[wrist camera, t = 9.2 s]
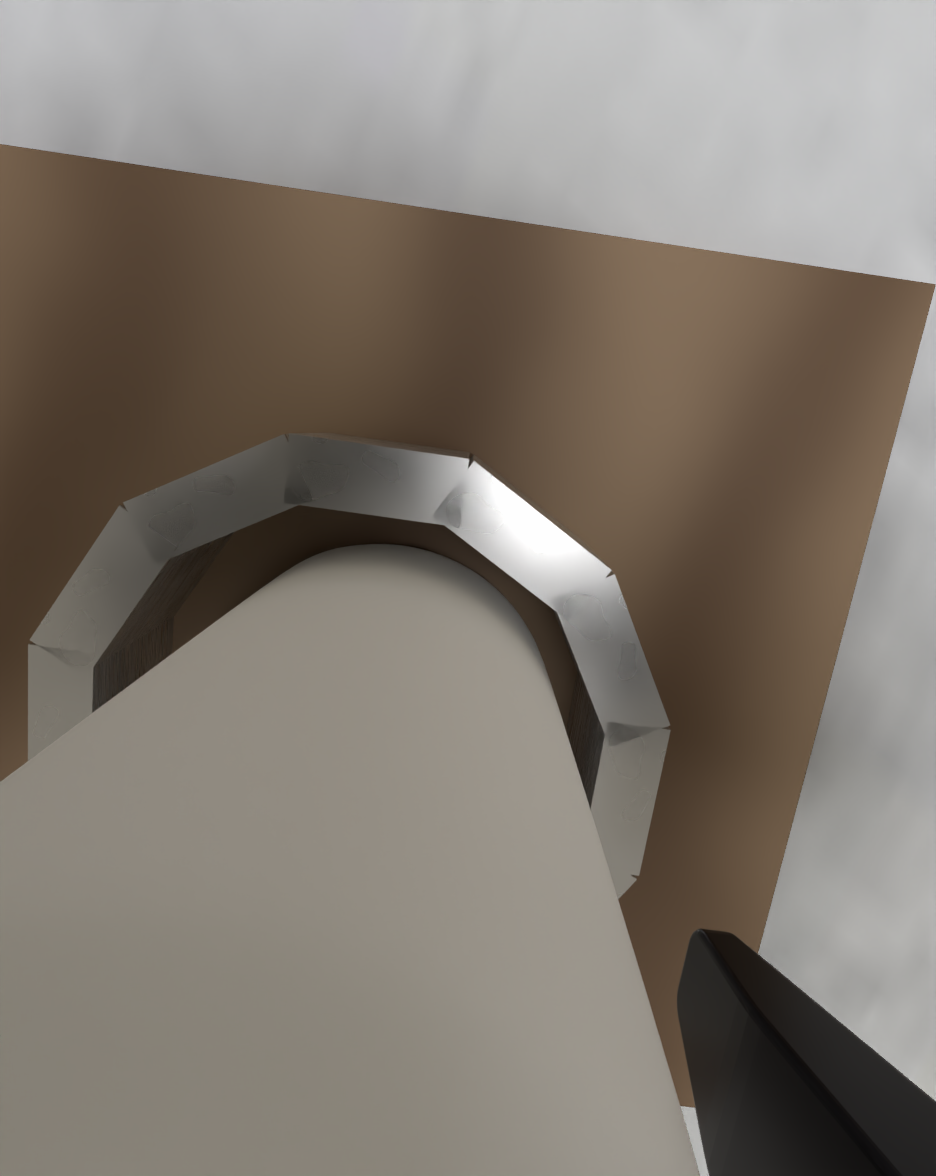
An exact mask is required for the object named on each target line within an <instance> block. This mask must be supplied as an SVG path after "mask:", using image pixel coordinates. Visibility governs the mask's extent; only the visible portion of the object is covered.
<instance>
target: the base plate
mask: <svg viewBox="0 0 936 1176" xmlns="http://www.w3.org/2000/svg"><path fill="white" fill-rule="evenodd" d="M935 285H936V284H929V283H923V282H916V281H909V280H903V279H896V278H889V277H883V276H876V275H869V274H863V273H856V272H849V271H843V270H836V269H829V268H823V267H816V266H809V265H803V264H796V263H789V262H783V261H776V260H769V259H763V258H756V257H749V256H743V255H736V254H729V253H723V252H716V251H709V250H703V249H696V248H689V247H683V246H676V245H669V244H663V243H656V242H649V241H643V240H636V239H629V238H623V237H616V236H609V235H603V234H596V233H589V232H583V231H576V230H569V229H563V228H556V227H549V226H543V225H536V224H529V223H523V222H516V221H509V220H502V219H496V218H489V217H482V216H476V215H469V214H462V213H456V212H449V211H442V210H436V209H429V208H422V207H416V206H409V205H402V204H396V203H389V202H382V201H376V200H369V199H362V198H356V197H349V196H342V195H336V194H329V193H322V192H316V191H309V190H302V189H296V188H289V187H282V186H276V185H269V184H262V183H256V182H249V181H242V180H236V179H229V178H222V177H216V176H209V175H202V174H196V173H189V172H182V171H176V170H169V169H162V168H156V167H149V166H142V165H136V164H129V163H122V162H116V161H109V160H102V159H96V158H89V157H82V156H76V155H69V154H62V153H56V152H49V151H42V150H36V149H29V148H22V147H16V146H9V145H2V144H0V782H1V781H2V780H3V779H5V778H6V777H7V776H9V775H10V774H11V773H13V772H14V771H15V770H17V769H18V768H20V767H21V766H22V765H24V764H25V763H26V762H28V644H30V643H32V641H30V638H31V637H32V635H33V634H34V632H35V631H36V629H37V628H38V626H39V625H40V623H41V622H42V620H43V619H44V617H45V616H46V614H47V613H48V611H49V610H50V608H51V607H52V605H53V604H54V602H55V601H56V599H57V598H58V596H59V595H60V593H61V592H62V590H63V589H64V587H65V586H66V584H67V583H68V581H69V580H70V578H71V577H72V575H73V574H74V572H75V571H76V569H77V568H78V566H79V565H80V563H81V562H82V560H83V559H84V557H85V556H86V555H87V553H88V552H89V550H90V549H91V547H92V546H93V544H94V543H95V541H96V540H97V538H98V537H99V535H100V534H101V532H102V531H103V529H104V528H105V526H106V525H107V523H108V522H109V520H110V519H111V517H112V516H113V514H114V513H115V511H116V510H117V508H118V507H119V506H120V505H124V503H123V502H125V501H128V500H130V499H132V498H135V497H137V496H139V495H142V494H144V493H146V492H149V491H151V490H153V489H156V488H158V487H160V486H163V485H165V484H167V483H170V482H172V481H175V480H177V479H179V478H182V477H184V476H186V475H189V474H191V473H193V472H196V471H198V470H200V469H203V468H205V467H207V466H210V465H212V464H214V463H217V462H219V461H221V460H224V459H226V458H229V457H231V456H233V455H236V454H238V453H240V452H243V451H245V450H247V449H250V448H252V447H254V446H257V445H259V444H261V443H264V442H266V441H268V440H271V439H273V438H276V437H278V436H280V435H283V434H289V433H336V434H343V435H350V436H357V437H364V438H371V439H379V440H386V441H393V442H400V443H407V444H414V445H421V446H428V447H435V448H442V449H449V450H456V451H463V452H470V456H469V460H470V458H471V457H472V456H473V454H474V455H475V456H477V457H478V458H479V459H481V460H482V461H483V462H484V463H486V464H487V465H488V466H489V467H491V468H492V469H493V470H494V471H496V472H497V473H498V474H499V475H501V476H502V477H503V478H504V479H506V480H507V481H508V482H510V483H511V484H512V485H513V486H515V487H516V488H517V489H518V490H520V491H521V492H522V493H523V494H525V495H526V496H527V497H528V498H530V499H531V500H532V501H533V502H535V503H536V504H537V505H538V506H540V507H541V508H542V509H544V510H545V511H546V512H547V513H549V514H550V515H551V516H552V517H554V518H555V519H556V520H557V521H559V522H560V523H561V524H562V525H564V526H565V527H566V528H567V529H569V530H570V531H571V532H572V533H574V534H575V535H576V536H578V537H579V538H580V539H581V540H582V541H583V542H584V543H585V544H586V545H587V546H588V547H589V548H590V549H591V550H592V551H593V552H594V553H595V554H596V555H597V556H598V557H599V558H600V559H601V560H602V561H603V562H604V563H605V564H606V565H607V566H608V567H609V568H610V569H611V570H612V572H613V573H614V574H615V576H616V579H617V582H618V584H619V587H620V590H621V593H622V595H623V598H624V601H625V603H626V606H627V609H628V612H629V614H630V617H631V620H632V622H633V625H634V628H635V631H636V633H637V636H638V639H639V641H640V644H641V647H642V650H643V652H644V655H645V658H646V660H647V663H648V666H649V669H650V671H651V674H652V677H653V680H654V682H655V685H656V688H657V690H658V693H659V696H660V699H661V701H662V704H663V707H664V709H665V712H666V715H667V718H668V720H669V723H670V726H668V727H669V728H670V730H671V731H670V735H669V740H668V745H667V749H666V754H665V758H664V763H663V768H662V772H661V777H660V782H659V786H658V791H657V795H656V800H655V805H654V809H653V814H652V818H651V823H650V828H649V832H648V837H647V841H646V846H645V851H644V855H643V860H642V864H641V869H640V874H639V876H636V875H635V876H636V878H637V880H636V881H635V882H634V883H633V884H632V885H631V887H630V888H629V889H628V890H627V891H626V892H625V893H624V894H623V895H622V896H621V897H620V898H619V899H618V901H619V904H620V907H621V911H622V914H623V917H624V921H625V924H626V927H627V930H628V934H629V937H630V940H631V944H632V947H633V950H634V953H635V957H636V960H637V963H638V966H639V970H640V973H641V976H642V980H643V983H644V986H645V989H646V993H647V996H648V999H649V1003H650V1006H651V1010H652V1013H653V1016H654V1020H655V1023H656V1026H657V1030H658V1033H659V1036H660V1040H661V1043H662V1047H663V1050H664V1053H665V1057H666V1060H667V1063H668V1067H669V1070H670V1073H671V1077H672V1080H673V1084H674V1087H675V1090H676V1094H677V1097H678V1100H679V1104H680V1106H686V1107H694V1108H695V1103H694V1098H693V1093H692V1088H691V1082H690V1077H689V1072H688V1067H687V1061H686V1056H685V1051H684V1045H683V1040H682V1035H681V1030H680V1024H679V1019H678V1013H677V991H678V986H679V982H680V977H681V973H682V969H683V965H684V961H685V956H686V952H687V948H688V944H689V940H690V937H691V935H692V934H693V932H694V931H696V930H697V929H709V930H717V931H725V932H730V933H732V934H734V935H735V936H737V937H738V938H739V939H740V940H742V941H743V942H744V943H745V944H746V945H748V946H749V947H750V948H751V949H752V950H754V951H755V952H756V953H757V954H758V951H759V947H760V943H761V939H762V936H763V932H764V928H765V924H766V921H767V917H768V913H769V909H770V906H771V902H772V898H773V894H774V891H775V887H776V883H777V879H778V876H779V872H780V868H781V864H782V860H783V857H784V853H785V849H786V845H787V842H788V838H789V834H790V830H791V827H792V823H793V819H794V815H795V812H796V808H797V804H798V800H799V797H800V793H801V789H802V785H803V781H804V778H805V774H806V770H807V766H808V763H809V759H810V755H811V751H812V748H813V744H814V740H815V736H816V733H817V729H818V725H819V721H820V718H821V714H822V710H823V706H824V703H825V699H826V695H827V691H828V687H829V684H830V680H831V676H832V672H833V669H834V665H835V661H836V657H837V654H838V650H839V646H840V642H841V639H842V635H843V631H844V627H845V624H846V620H847V616H848V612H849V608H850V605H851V601H852V597H853V593H854V590H855V586H856V582H857V578H858V575H859V571H860V567H861V563H862V560H863V556H864V552H865V548H866V545H867V541H868V537H869V533H870V530H871V526H872V522H873V518H874V514H875V511H876V507H877V503H878V499H879V496H880V492H881V488H882V484H883V481H884V477H885V473H886V469H887V466H888V462H889V458H890V454H891V451H892V447H893V443H894V439H895V435H896V432H897V428H898V424H899V420H900V417H901V413H902V409H903V405H904V402H905V398H906V394H907V390H908V387H909V383H910V379H911V375H912V372H913V368H914V364H915V360H916V357H917V353H918V349H919V345H920V341H921V338H922V334H923V330H924V326H925V323H926V319H927V315H928V311H929V308H930V304H931V300H932V296H933V293H934V289H935ZM365 544H393V545H402V546H409V547H414V548H419V549H423V550H427V551H430V552H433V553H436V554H439V555H442V556H444V557H447V558H449V559H451V560H454V561H456V562H458V563H460V564H462V565H463V566H465V567H467V568H469V569H470V570H472V571H474V572H475V573H477V574H478V575H480V576H481V577H482V578H484V579H485V580H486V581H488V582H489V583H490V584H491V585H492V586H494V587H495V588H496V589H497V590H498V591H499V592H500V593H501V594H502V595H503V596H504V597H505V598H506V599H507V600H508V601H509V602H510V604H511V605H512V606H513V607H514V608H515V610H516V611H517V612H518V614H519V615H520V616H521V618H522V619H523V621H524V622H525V624H526V626H527V627H528V629H529V631H530V633H531V634H532V636H533V638H534V640H535V642H536V644H537V647H538V649H539V652H540V654H541V657H542V659H543V662H544V665H545V668H546V671H547V674H548V677H549V680H550V683H551V686H552V689H553V692H554V695H555V698H556V701H557V704H558V707H559V711H560V714H561V717H562V720H563V723H564V726H565V730H566V731H567V725H568V720H569V714H570V709H571V703H572V698H573V692H574V687H575V681H576V676H577V669H576V667H575V664H574V661H573V659H572V656H571V654H570V651H569V649H568V646H567V644H566V641H565V638H564V636H563V633H562V631H561V628H560V626H559V623H558V621H557V618H556V615H555V613H554V610H553V609H552V608H551V607H550V606H548V605H547V604H546V603H544V602H543V601H542V600H541V599H539V598H538V597H537V596H535V595H534V594H533V593H531V592H530V591H529V590H528V589H526V588H525V587H524V586H522V585H521V584H520V583H519V582H517V581H516V580H515V579H513V578H512V577H511V576H509V575H508V574H507V573H506V572H504V571H503V570H502V569H500V568H499V567H498V566H497V565H495V564H494V563H493V562H491V561H490V560H489V559H487V558H486V557H485V556H484V555H482V554H481V553H480V552H478V551H477V550H476V549H474V548H473V547H472V546H471V545H469V544H468V543H467V542H465V541H464V540H463V539H462V538H460V537H459V536H458V535H456V534H455V533H454V532H452V531H451V530H450V529H449V528H447V527H446V526H445V525H439V524H432V523H425V522H418V521H411V520H403V519H396V518H389V517H382V516H375V515H367V514H360V513H353V512H346V511H339V510H332V509H324V508H317V507H310V506H303V505H298V506H295V507H293V508H290V509H288V510H286V511H283V512H281V513H278V514H276V515H273V516H271V517H269V518H266V519H264V520H261V521H259V522H257V523H254V524H252V525H249V526H247V527H245V528H242V529H240V530H237V531H235V532H234V533H233V534H232V536H231V537H230V539H229V540H228V541H227V543H226V544H225V546H224V547H223V548H222V550H221V551H220V553H219V554H218V555H217V557H216V558H215V560H214V561H213V562H212V564H211V565H210V567H209V568H208V569H207V571H206V572H205V574H204V575H203V577H202V578H201V579H200V581H199V582H198V584H197V585H196V586H195V588H194V589H193V591H192V592H191V593H190V595H189V596H188V598H187V599H186V600H185V602H184V603H183V605H182V606H181V607H180V609H179V610H178V612H177V613H176V615H175V616H174V624H173V645H172V653H174V652H175V651H176V650H178V649H179V648H180V647H182V646H183V645H185V644H186V643H187V642H189V641H190V640H191V639H193V638H194V637H195V636H197V635H198V634H199V633H201V632H202V631H204V630H205V629H206V628H208V627H209V626H210V625H212V624H213V623H214V622H216V621H217V620H218V619H220V618H221V617H222V616H224V615H225V614H227V613H228V612H229V611H231V610H232V609H233V608H235V607H236V606H238V605H239V604H240V603H242V602H243V601H244V600H246V599H247V598H248V597H250V596H251V595H253V594H254V593H255V592H257V591H258V590H259V589H261V588H262V587H264V586H265V585H267V584H268V583H269V582H271V581H272V580H274V579H275V578H276V577H278V576H279V575H281V574H282V573H284V572H285V571H287V570H289V569H290V568H292V567H293V566H295V565H297V564H298V563H300V562H302V561H304V560H306V559H308V558H310V557H312V556H314V555H317V554H319V553H322V552H325V551H328V550H332V549H335V548H340V547H346V546H354V545H365Z"/></svg>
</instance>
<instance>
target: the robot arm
mask: <svg viewBox="0 0 936 1176" xmlns="http://www.w3.org/2000/svg"><path fill="white" fill-rule="evenodd" d="M677 1013H678V1019H679V1024H680V1030H681V1035H682V1040H683V1045H684V1051H685V1056H686V1061H687V1067H688V1072H689V1077H690V1082H691V1088H692V1093H693V1098H694V1103H695V1109H696V1114H697V1119H698V1125H699V1130H700V1135H701V1140H702V1145H703V1150H704V1155H705V1159H706V1164H707V1169H708V1172H709V1176H936V1101H935V1100H933V1099H932V1098H931V1097H930V1096H929V1095H927V1094H926V1093H925V1092H924V1091H923V1090H921V1089H920V1088H919V1087H918V1086H916V1085H915V1084H914V1083H913V1082H912V1081H910V1080H909V1079H908V1078H907V1077H906V1076H904V1075H903V1074H902V1073H901V1072H900V1071H898V1070H897V1069H896V1068H895V1067H894V1066H892V1065H891V1064H890V1063H889V1062H888V1061H886V1060H885V1059H884V1058H883V1057H881V1056H880V1055H879V1054H878V1053H877V1052H875V1051H874V1050H873V1049H872V1048H871V1047H869V1046H868V1045H867V1044H866V1043H865V1042H863V1041H862V1040H861V1039H860V1038H859V1037H857V1036H856V1035H855V1034H854V1033H853V1032H851V1031H850V1030H849V1029H848V1028H847V1027H845V1026H844V1025H843V1024H842V1023H840V1022H839V1021H838V1020H837V1019H836V1018H834V1017H833V1016H832V1015H831V1014H830V1013H828V1012H827V1011H826V1010H825V1009H824V1008H822V1007H821V1006H820V1005H819V1004H818V1003H816V1002H815V1001H814V1000H813V999H812V998H810V997H809V996H808V995H807V994H806V993H804V992H803V991H802V990H801V989H799V988H798V987H797V986H796V985H795V984H793V983H792V982H791V981H790V980H789V979H787V978H786V977H785V976H784V975H783V974H781V973H780V972H779V971H778V970H777V969H775V968H774V967H773V966H772V965H771V964H769V963H768V962H767V961H766V960H764V959H763V958H762V957H761V956H760V955H758V954H757V953H756V952H755V951H754V950H752V949H751V948H750V947H749V946H748V945H746V944H745V943H744V942H743V941H742V940H740V939H739V938H738V937H737V936H735V935H734V934H732V933H730V932H725V931H717V930H709V929H697V930H696V931H694V932H693V934H692V935H691V937H690V940H689V944H688V948H687V952H686V956H685V961H684V965H683V969H682V973H681V977H680V982H679V986H678V991H677Z"/></svg>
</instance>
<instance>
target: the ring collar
mask: <svg viewBox="0 0 936 1176" xmlns="http://www.w3.org/2000/svg"><path fill="white" fill-rule="evenodd" d="M469 456H470V452H463V451H456V450H449V449H442V448H435V447H428V446H421V445H414V444H407V443H400V442H393V441H386V440H379V439H371V438H364V437H357V436H350V435H343V434H336V433H289V434H283V435H280V436H278V437H276V438H273V439H271V440H268V441H266V442H264V443H261V444H259V445H257V446H254V447H252V448H250V449H247V450H245V451H243V452H240V453H238V454H236V455H233V456H231V457H229V458H226V459H224V460H221V461H219V462H217V463H214V464H212V465H210V466H207V467H205V468H203V469H200V470H198V471H196V472H193V473H191V474H189V475H186V476H184V477H182V478H179V479H177V480H175V481H172V482H170V483H167V484H165V485H163V486H160V487H158V488H156V489H153V490H151V491H149V492H146V493H144V494H142V495H139V496H137V497H135V498H132V499H130V500H128V501H125V502H123V503H124V505H120V506H119V507H118V508H117V510H116V511H115V513H114V514H113V516H112V517H111V519H110V520H109V522H108V523H107V525H106V526H105V528H104V529H103V531H102V532H101V534H100V535H99V537H98V538H97V540H96V541H95V543H94V544H93V546H92V547H91V549H90V550H89V552H88V553H87V555H86V556H85V557H84V559H83V560H82V562H81V563H80V565H79V566H78V568H77V569H76V571H75V572H74V574H73V575H72V577H71V578H70V580H69V581H68V583H67V584H66V586H65V587H64V589H63V590H62V592H61V593H60V595H59V596H58V598H57V599H56V601H55V602H54V604H53V605H52V607H51V608H50V610H49V611H48V613H47V614H46V616H45V617H44V619H43V620H42V622H41V623H40V625H39V626H38V628H37V629H36V631H35V632H34V634H33V635H32V637H31V638H30V641H32V643H30V644H28V761H29V760H30V759H32V758H33V757H34V756H36V755H37V754H38V753H40V752H41V751H42V750H44V749H45V748H46V747H48V746H49V745H50V744H52V743H53V742H54V741H56V740H57V739H58V738H60V737H61V736H62V735H64V734H65V733H66V732H68V731H69V730H70V729H72V728H73V727H74V726H76V725H77V724H78V723H80V722H81V721H82V720H84V719H85V718H86V717H88V716H89V715H90V714H92V713H93V712H94V711H96V710H97V709H98V708H100V707H101V706H102V705H104V704H105V703H106V702H108V701H109V700H110V699H112V698H113V697H114V696H116V695H117V694H119V693H120V692H121V691H123V690H124V689H125V688H127V687H128V686H129V685H131V684H132V683H133V682H135V681H136V680H137V679H139V678H140V677H141V676H143V675H144V674H145V673H147V672H148V671H149V670H151V669H152V668H153V667H155V666H156V665H158V664H159V663H160V662H162V661H163V660H164V659H166V658H167V657H168V656H170V655H171V654H172V645H173V624H174V616H175V615H176V613H177V612H178V610H179V609H180V607H181V606H182V605H183V603H184V602H185V600H186V599H187V598H188V596H189V595H190V593H191V592H192V591H193V589H194V588H195V586H196V585H197V584H198V582H199V581H200V579H201V578H202V577H203V575H204V574H205V572H206V571H207V569H208V568H209V567H210V565H211V564H212V562H213V561H214V560H215V558H216V557H217V555H218V554H219V553H220V551H221V550H222V548H223V547H224V546H225V544H226V543H227V541H228V540H229V539H230V537H231V536H232V534H233V533H234V532H235V531H237V530H240V529H242V528H245V527H247V526H249V525H252V524H254V523H257V522H259V521H261V520H264V519H266V518H269V517H271V516H273V515H276V514H278V513H281V512H283V511H286V510H288V509H290V508H293V507H295V506H298V505H303V506H310V507H317V508H324V509H332V510H339V511H346V512H353V513H360V514H367V515H375V516H382V517H389V518H396V519H403V520H411V521H418V522H425V523H432V524H439V525H445V526H446V527H447V528H449V529H450V530H451V531H452V532H454V533H455V534H456V535H458V536H459V537H460V538H462V539H463V540H464V541H465V542H467V543H468V544H469V545H471V546H472V547H473V548H474V549H476V550H477V551H478V552H480V553H481V554H482V555H484V556H485V557H486V558H487V559H489V560H490V561H491V562H493V563H494V564H495V565H497V566H498V567H499V568H500V569H502V570H503V571H504V572H506V573H507V574H508V575H509V576H511V577H512V578H513V579H515V580H516V581H517V582H519V583H520V584H521V585H522V586H524V587H525V588H526V589H528V590H529V591H530V592H531V593H533V594H534V595H535V596H537V597H538V598H539V599H541V600H542V601H543V602H544V603H546V604H547V605H548V606H550V607H551V608H552V609H553V610H554V613H555V615H556V618H557V621H558V623H559V626H560V628H561V631H562V633H563V636H564V638H565V641H566V644H567V646H568V649H569V651H570V654H571V656H572V659H573V661H574V664H575V667H576V669H577V676H576V681H575V687H574V692H573V698H572V703H571V709H570V714H569V720H568V725H567V731H566V733H567V736H568V739H569V742H570V746H571V749H572V752H573V755H574V758H575V762H576V765H577V768H578V771H579V774H580V777H581V781H582V784H583V787H584V790H585V794H586V797H587V800H588V803H589V807H590V810H591V813H592V816H593V820H594V823H595V826H596V829H597V832H598V836H599V839H600V842H601V845H602V849H603V852H604V855H605V858H606V862H607V865H608V868H609V871H610V875H611V878H612V881H613V884H614V888H615V891H616V894H617V898H618V899H619V898H620V897H621V896H622V895H623V894H624V893H625V892H626V891H627V890H628V889H629V888H630V887H631V885H632V884H633V883H634V882H635V881H636V880H637V878H636V876H639V874H640V869H641V864H642V860H643V855H644V851H645V846H646V841H647V837H648V832H649V828H650V823H651V818H652V814H653V809H654V805H655V800H656V795H657V791H658V786H659V782H660V777H661V772H662V768H663V763H664V758H665V754H666V749H667V745H668V740H669V735H670V731H671V730H670V728H669V727H668V726H670V723H669V720H668V718H667V715H666V712H665V709H664V707H663V704H662V701H661V699H660V696H659V693H658V690H657V688H656V685H655V682H654V680H653V677H652V674H651V671H650V669H649V666H648V663H647V660H646V658H645V655H644V652H643V650H642V647H641V644H640V641H639V639H638V636H637V633H636V631H635V628H634V625H633V622H632V620H631V617H630V614H629V612H628V609H627V606H626V603H625V601H624V598H623V595H622V593H621V590H620V587H619V584H618V582H617V579H616V576H615V574H614V573H613V572H612V570H611V569H610V568H609V567H608V566H607V565H606V564H605V563H604V562H603V561H602V560H601V559H600V558H599V557H598V556H597V555H596V554H595V553H594V552H593V551H592V550H591V549H590V548H589V547H588V546H587V545H586V544H585V543H584V542H583V541H582V540H581V539H580V538H579V537H578V536H576V535H575V534H574V533H572V532H571V531H570V530H569V529H567V528H566V527H565V526H564V525H562V524H561V523H560V522H559V521H557V520H556V519H555V518H554V517H552V516H551V515H550V514H549V513H547V512H546V511H545V510H544V509H542V508H541V507H540V506H538V505H537V504H536V503H535V502H533V501H532V500H531V499H530V498H528V497H527V496H526V495H525V494H523V493H522V492H521V491H520V490H518V489H517V488H516V487H515V486H513V485H512V484H511V483H510V482H508V481H507V480H506V479H504V478H503V477H502V476H501V475H499V474H498V473H497V472H496V471H494V470H493V469H492V468H491V467H489V466H488V465H487V464H486V463H484V462H483V461H482V460H481V459H479V458H478V457H477V456H475V455H474V454H473V456H472V457H471V458H470V460H469ZM635 875H636V876H635Z"/></svg>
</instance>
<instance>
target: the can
mask: <svg viewBox="0 0 936 1176" xmlns="http://www.w3.org/2000/svg"><path fill="white" fill-rule="evenodd" d="M0 1176H700V1174H699V1171H698V1167H697V1163H696V1160H695V1156H694V1153H693V1149H692V1145H691V1142H690V1138H689V1134H688V1131H687V1127H686V1124H685V1121H684V1117H683V1114H682V1110H681V1107H680V1104H679V1100H678V1097H677V1094H676V1090H675V1087H674V1084H673V1080H672V1077H671V1073H670V1070H669V1067H668V1063H667V1060H666V1057H665V1053H664V1050H663V1047H662V1043H661V1040H660V1036H659V1033H658V1030H657V1026H656V1023H655V1020H654V1016H653V1013H652V1010H651V1006H650V1003H649V999H648V996H647V993H646V989H645V986H644V983H643V980H642V976H641V973H640V970H639V966H638V963H637V960H636V957H635V953H634V950H633V947H632V944H631V940H630V937H629V934H628V930H627V927H626V924H625V921H624V917H623V914H622V911H621V907H620V904H619V901H618V898H617V894H616V891H615V888H614V884H613V881H612V878H611V875H610V871H609V868H608V865H607V862H606V858H605V855H604V852H603V849H602V845H601V842H600V839H599V836H598V832H597V829H596V826H595V823H594V820H593V816H592V813H591V810H590V807H589V803H588V800H587V797H586V794H585V790H584V787H583V784H582V781H581V777H580V774H579V771H578V768H577V765H576V762H575V758H574V755H573V752H572V749H571V746H570V742H569V739H568V736H567V733H566V730H565V726H564V723H563V720H562V717H561V714H560V711H559V707H558V704H557V701H556V698H555V695H554V692H553V689H552V686H551V683H550V680H549V677H548V674H547V671H546V668H545V665H544V662H543V659H542V657H541V654H540V652H539V649H538V647H537V644H536V642H535V640H534V638H533V636H532V634H531V633H530V631H529V629H528V627H527V626H526V624H525V622H524V621H523V619H522V618H521V616H520V615H519V614H518V612H517V611H516V610H515V608H514V607H513V606H512V605H511V604H510V602H509V601H508V600H507V599H506V598H505V597H504V596H503V595H502V594H501V593H500V592H499V591H498V590H497V589H496V588H495V587H494V586H492V585H491V584H490V583H489V582H488V581H486V580H485V579H484V578H482V577H481V576H480V575H478V574H477V573H475V572H474V571H472V570H470V569H469V568H467V567H465V566H463V565H462V564H460V563H458V562H456V561H454V560H451V559H449V558H447V557H444V556H442V555H439V554H436V553H433V552H430V551H427V550H423V549H419V548H414V547H409V546H402V545H393V544H365V545H354V546H346V547H340V548H335V549H332V550H328V551H325V552H322V553H319V554H317V555H314V556H312V557H310V558H308V559H306V560H304V561H302V562H300V563H298V564H297V565H295V566H293V567H292V568H290V569H289V570H287V571H285V572H284V573H282V574H281V575H279V576H278V577H276V578H275V579H274V580H272V581H271V582H269V583H268V584H267V585H265V586H264V587H262V588H261V589H259V590H258V591H257V592H255V593H254V594H253V595H251V596H250V597H248V598H247V599H246V600H244V601H243V602H242V603H240V604H239V605H238V606H236V607H235V608H233V609H232V610H231V611H229V612H228V613H227V614H225V615H224V616H222V617H221V618H220V619H218V620H217V621H216V622H214V623H213V624H212V625H210V626H209V627H208V628H206V629H205V630H204V631H202V632H201V633H199V634H198V635H197V636H195V637H194V638H193V639H191V640H190V641H189V642H187V643H186V644H185V645H183V646H182V647H180V648H179V649H178V650H176V651H175V652H174V653H172V654H171V655H170V656H168V657H167V658H166V659H164V660H163V661H162V662H160V663H159V664H158V665H156V666H155V667H153V668H152V669H151V670H149V671H148V672H147V673H145V674H144V675H143V676H141V677H140V678H139V679H137V680H136V681H135V682H133V683H132V684H131V685H129V686H128V687H127V688H125V689H124V690H123V691H121V692H120V693H119V694H117V695H116V696H114V697H113V698H112V699H110V700H109V701H108V702H106V703H105V704H104V705H102V706H101V707H100V708H98V709H97V710H96V711H94V712H93V713H92V714H90V715H89V716H88V717H86V718H85V719H84V720H82V721H81V722H80V723H78V724H77V725H76V726H74V727H73V728H72V729H70V730H69V731H68V732H66V733H65V734H64V735H62V736H61V737H60V738H58V739H57V740H56V741H54V742H53V743H52V744H50V745H49V746H48V747H46V748H45V749H44V750H42V751H41V752H40V753H38V754H37V755H36V756H34V757H33V758H32V759H30V760H29V761H28V762H26V763H25V764H24V765H22V766H21V767H20V768H18V769H17V770H15V771H14V772H13V773H11V774H10V775H9V776H7V777H6V778H5V779H3V780H2V781H1V782H0Z"/></svg>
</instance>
